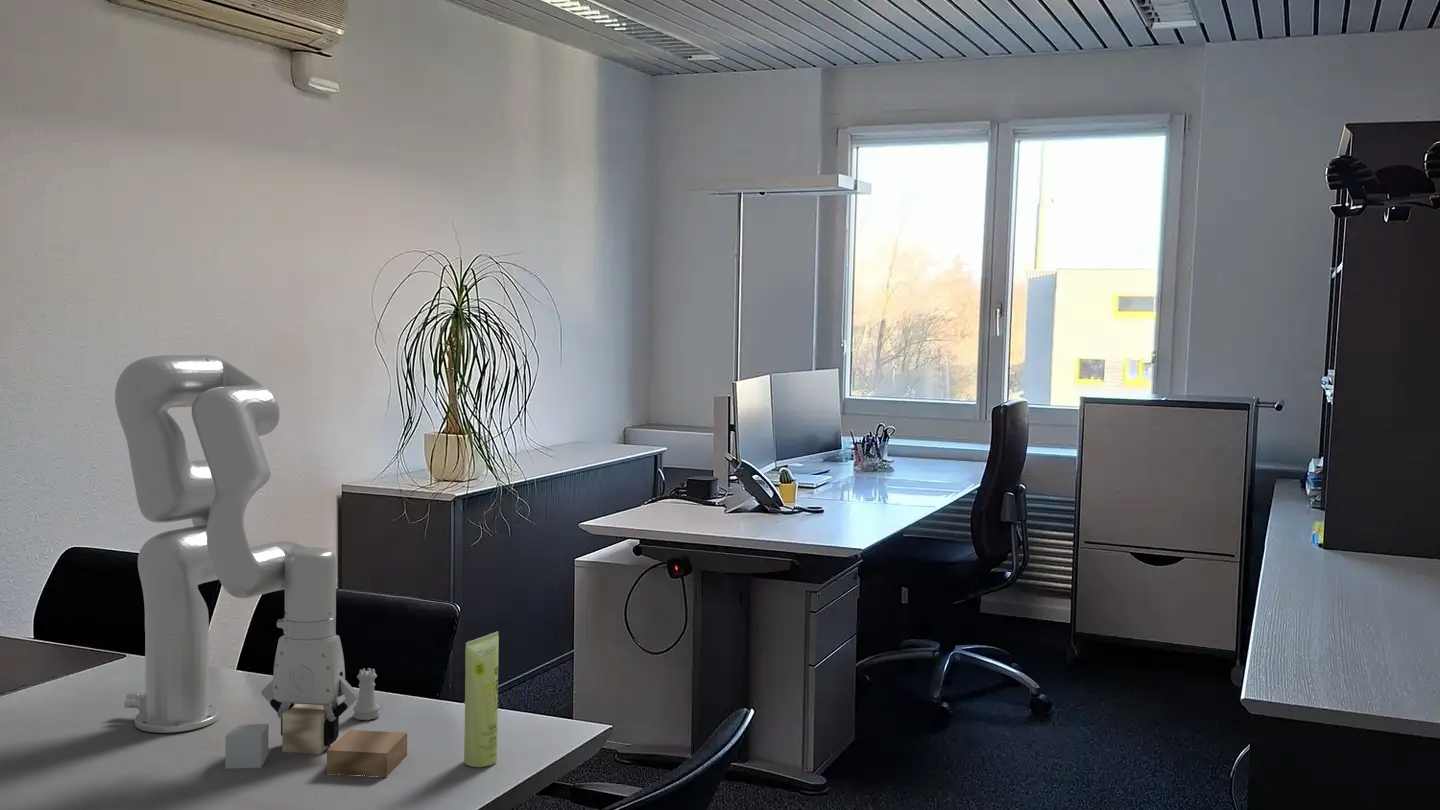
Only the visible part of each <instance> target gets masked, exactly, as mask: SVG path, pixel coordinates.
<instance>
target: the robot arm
mask: <svg viewBox="0 0 1440 810" xmlns="http://www.w3.org/2000/svg"><path fill="white" fill-rule="evenodd" d="M114 391H115V392H114V403H115V411H116V413H117V416H118V420H119V423H120V425H121V428H122V429H123V433H124V438H125V440H126V444H127V448H128V455H129V462H130V467H131V472H132V473H131V474H132V478H133V483H134V490H135V494H136V500H137V504H138V509H139V511H140V513H141V514H142V517H144V518H145V519H146V520H147V521H150V522H152V523H158V524H159V523H173V522H179V521H186V520H191V521H192V526H190V527H189V526H188V527H183V528H177V529H172V530H168V531H163V532H160V533H158V534H156V535H153V536H152V537H150V538H149V539H148V540H147V541H145V542H144V544H143V545H142V546H141V547H140V550H139V552H138V555H137V568H138V569H137V571H138V575H139V580H140V584H141V588H142V594H143V595H142V596H143V602H144V603H143V604H144V633H145V635H144V636H145V637H144V639H145V644H144V646H145V647H144V648H145V649H144V650H145V651H144V655H145V656H144V657H145V659H144V662H145V665H144V666H145V668H144V669H145V670H144V673H145V675H144V677H145V679H144V683H145V684H144V685H145V686H144V689H145V691H144V693H141V692H133V691H132V692H128V693H127V694H126V696H125V700H124V708H128V709H137V710H138V714H137V715H136V716H135V717H134V726H135V727H136V728H137V729H139V730H141V731H143V732H144V731H145V732H148V733H156V734H158V733H159V734H161V733H162V734H163V733H164V734H165V733H166V734H167V733H168V734H169V733H180V732H188V731H192V730H197V729H200V728H203V727H204V728H205V727H206V726H210V725H211V724H213V723H215V722H216V721H217V720H218V719H219V717H220V711H219V708H218V707H216V706H214V704H213V705H212V704H210V698H209V697H210V695H209V694H210V693H209V691H210V689H209V688H210V686H209V684H210V683H209V682H210V681H209V680H210V678H209V677H210V674H209V672H210V669H209V668H210V665H209V664H210V662H209V661H210V657H209V656H210V654H209V653H210V650H209V649H210V646H209V645H210V636H209V635H210V632H209V629H210V622H209V621H210V618H209V609H208V606H207V603H206V601H205V599H204V597H203V596H202V594H201V592H200V590H199V585H202V584H204V583H205V584H206V583H209V582H214V581H219V583H220V584H221V586H222V587H223V588H224V590H225V591H226V592H227V593H228V594H229V595H231V596H232V597H235V598H238V599H249V598H250V599H251V598H253V597H258V596H261V595H267V594H268V593H269V594H270V593H272V592H273V593H274V592H277V591H282V590H283V591H284V617H283V618H281V619H280V618H278V620H276V627H277V628H279V629H282V630H283V635H281V636H280V637H279V638H278V641H277V642H278V643H277V647H276V652H275V658H274V663H273V664H274V665H273V674H272V676H273V677H272V680H271V681H270V682H269V683H268V684H267V685H266V686H265V687H264V688H263V689H261V692H260V693H261V696H262V697H263V698H264V699H265V700H266V701H267V702H268V703H269V705H270V706H271V707H272V709H273V710H274V711H275V712H276V713H277V717H278V718H279V719H280V735H281V737H282V716H283V713H284V712H286V711H287V710H289V709H290V708H292V707H293V706H295V705H296V704H310V705H323V708H324V711H325V713H326V716H327V720H326V721H325V722H324V745H325V746H330V745H331V744H332V743H333V744H335V743H336V742H337V739H339V733H340V726H339V725H340V721H339V719H340V717H341V716H342V714H343V713H344V712H346V711H347V710H348V709H349V708H350V706H352V705H353V704H354V703H355V702H357V701H358V698H359V692H357V691H356V690H355V689H354V688H353V687H352V685H351V684H350V683H349V682H348V680H346V669H345V658H344V652H343V646H342V642H341V637H340V635H339V634H338V635H337V633H336V632H337V629H336V628H337V627H336V625H337V624H336V623H337V620H336V619H337V557H336V554H335V552H334V551H333V550H331V549H329V548H325V547H313V546H312V547H311V546H310V547H308V546H305V545H302V544H298V543H296V542H294V541H293V542H292V541H288V540H287V541H285V540H283V541H275V542H270V543H265V544H260V545H255V546H251V547H250V544H249V541H248V538H247V535H246V531H245V524H244V522H245V521H244V519H245V512H246V508H247V506H248V504H249V501H250V500H251V499H252V498H253V496H254V495H255V494H256V492H257V491H259V490H260V489H261V488H262V487H264V486H265V485H266V484H267V483H268V482H269V480H270V478H271V476H272V475H271V473H272V472H271V469H270V466H269V464H268V460H267V457H266V454H265V452H264V448H263V446H262V442H261V439H260V436H265V435H268V434H269V433H271V432H272V431H274V430H275V429H276V427H277V425H278V424H279V421H280V415H281V413H280V411H281V410H280V407H279V403H278V401H277V399H276V397H275V396H274V394H273V393H272V392H271V391H270V390H269V389H268V388H267V386H265V385H264V384H262V383H261V382H259V380H256V379H255V378H254V377H252V376H251V375H249V374H247V373H245V372H244V371H243V370H241V369H239V368H237V366H234V365H233V364H232V363H230V362H228V361H226V360H225V359H223V358H221V357H219V356H214V355H208V354H207V355H204V354H202V355H199V354H197V355H195V354H194V355H193V354H192V355H188V354H187V355H181V354H180V355H179V354H174V355H173V354H167V355H165V354H164V355H154V356H153V355H152V356H146V357H143V358H140V359H136V360H135V361H133V362H131V363H130V364H129V365H127V366H126V367H125V369H123V370H122V372H121V374H120V376H119V377H118V379H117V382H116V385H115V389H114ZM187 407H188V408H189V407H191V417H192V421H193V422H192V423H194V427H195V431H196V434H197V436H198V437H197V438H198V440H199V442H200V445H201V449H202V452H203V454H204V458H205V460H203V459H200V460H199V459H198V460H191V461H190V459H189V455H188V452H187V451H188V450H187V445H186V440H185V436H184V433H183V430H182V429H181V428H180V426H179V423H177V421H176V420H175V419H174V418H173V417H172V416H171V414H169V413H168V410H169V409H172V408H187ZM343 696H344V697H345V698H344V700H343V701H341V703H340V702H339V700H338V698H339V697H343ZM335 741H336V742H335ZM334 742H335V743H334ZM333 744H332V745H333ZM332 745H331V746H332ZM331 746H330V747H331Z"/></svg>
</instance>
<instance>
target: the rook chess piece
mask: <svg viewBox="0 0 1440 810" xmlns="http://www.w3.org/2000/svg"><path fill="white" fill-rule="evenodd" d="M358 670H359V671H358V674H357V676H356V678H357V680H359V684H358V687H359V689H358V690H359V691H358V695H359V698H358V699H357V700H356V703H355V704H356V705H355V706H354V707H353V709H352V710H353V712H354V713H353V714H352V716H353V718H354V719H355V718H356V719H359V720H358V721H360V720H369V721H372V720H371V719H374V720H376V719H378V718H379V717H378V716H380V715H381V712H380V711H379V710H380V709H381V708H380V704H379V703H378V701H377V699H376V694H375V693H376V692H375V686H376V683H375V679H376V678H377V677H378V675H377V673H376V670H375V668H370V667H368V668H367V670H366V668H362V669H358ZM377 717H378V718H377ZM375 718H376V719H375ZM356 719H355V720H356Z"/></svg>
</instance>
